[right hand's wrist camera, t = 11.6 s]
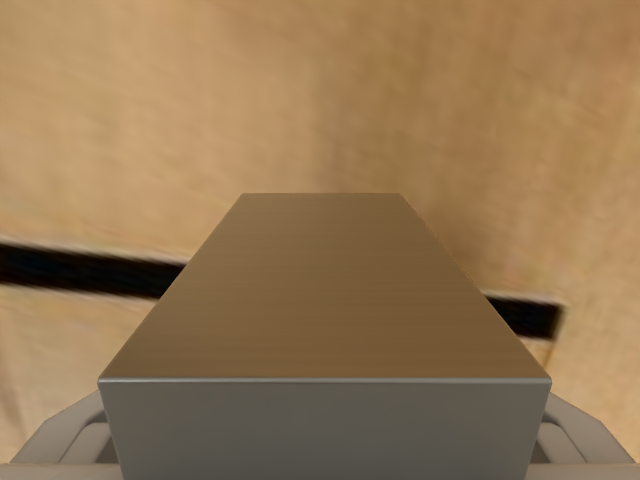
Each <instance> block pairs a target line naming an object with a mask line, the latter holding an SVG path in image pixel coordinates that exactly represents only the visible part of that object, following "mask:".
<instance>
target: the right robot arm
mask: <svg viewBox="0 0 640 480" xmlns="http://www.w3.org/2000/svg"><path fill="white" fill-rule="evenodd" d="M0 480H123V476H122V473H121V469H120V465H119V462H118V458H117V454H116V450H115V447H114V443H113V439H112V436H111V432H110V428H109V425H108V421H107V417H106V413H105V410H104V406H103V402H102V399H101V395H100V391H99V390H97V391H95V392H94V393H92V394H90V395H88V396H87V397H85V398H83V399H82V400H80V401H78V402H76V403H75V404H73V405H71V406H70V407H68V408H66V409H64V410H63V411H61V412H59V413H58V414H56V415H54V416H52V417H51V418H49V419H47V420H46V421H44V423H43V424H42V425H41V426H40V427H39V428H38V430H37V431H36V432H35V433H34V434H33V436H32V437H31V438H30V439H29V440H28V442H27V443H26V444H25V445H24V446H23V447H22V449H21V450H20V451H19V452H18V453H17V455H16V456H15V457H14V458H13V459H12V460H11V462H10V463H0ZM525 480H640V463H636V462H635V461H634V460H633V459H632V457H631V456H630V455H629V454H628V453H627V452H626V450H625V449H624V448H623V447H622V446H621V445H620V443H619V442H618V441H617V440H616V439H615V438H614V436H613V435H612V434H611V433H610V432H609V431H608V429H607V428H606V427H605V426H604V425H603V423H602V422H601V421H599V420H597V419H596V418H594V417H592V416H590V415H589V414H587V413H585V412H584V411H582V410H580V409H578V408H577V407H575V406H573V405H571V404H570V403H568V402H566V401H565V400H563V399H561V398H559V397H558V396H556V395H554V394H552V393H551V392H550V393H549V396H548V400H547V403H546V407H545V410H544V414H543V417H542V421H541V424H540V428H539V431H538V435H537V438H536V442H535V445H534V449H533V452H532V456H531V459H530V463H529V466H528V470H527V473H526V477H525Z"/></svg>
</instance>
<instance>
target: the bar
mask: <svg viewBox="0 0 640 480" xmlns="http://www.w3.org/2000/svg"><path fill="white" fill-rule="evenodd" d="M97 384H98V388H99V391H100V395H101V399H102V402H103V406H104V410H105V413H106V417H107V421H108V425H109V428H110V432H111V436H112V439H113V443H114V447H115V450H116V454H117V458H118V462H119V465H120V469H121V473H122V476H123V480H525V477H526V473H527V470H528V466H529V463H530V459H531V456H532V452H533V449H534V445H535V442H536V438H537V435H538V431H539V428H540V424H541V421H542V417H543V414H544V410H545V407H546V403H547V400H548V396H549V393H550V389H551V386H552V380H551V377H550V376H549V375H548V374H547V372H546V371H545V370H544V369H543V368H542V366H541V365H540V364H539V363H538V361H537V360H536V359H535V358H534V357H533V355H532V354H531V353H530V352H529V350H528V349H527V348H526V347H525V346H524V344H523V343H522V342H521V341H520V339H519V338H518V337H517V336H516V335H515V333H514V332H513V331H512V330H511V328H510V327H509V326H508V325H507V324H506V322H505V321H504V320H503V319H502V317H501V316H500V315H499V314H498V313H497V311H496V310H495V309H494V308H493V306H492V305H491V304H490V303H489V302H488V300H487V299H486V298H485V297H484V295H483V294H482V293H481V292H480V291H479V289H478V288H477V287H476V286H475V284H474V283H473V282H472V281H471V280H470V278H469V277H468V276H467V275H466V273H465V272H464V271H463V270H462V269H461V267H460V266H459V265H458V264H457V262H456V261H455V260H454V259H453V258H452V256H451V255H450V254H449V253H448V251H447V250H446V249H445V248H444V247H443V245H442V244H441V243H440V242H439V240H438V239H437V238H436V237H435V235H434V234H433V233H432V232H431V231H430V229H429V228H428V227H427V226H426V224H425V223H424V222H423V221H422V220H421V218H420V217H419V216H418V215H417V213H416V212H415V211H414V210H413V209H412V207H411V206H410V205H409V204H408V202H407V201H406V200H405V199H404V198H403V196H402V195H401V194H269V193H244V194H242V195H241V196H240V198H239V199H238V200H237V201H236V203H235V204H234V205H233V206H232V208H231V209H230V210H229V212H228V213H227V214H226V215H225V217H224V218H223V219H222V221H221V222H220V223H219V224H218V226H217V227H216V228H215V229H214V231H213V232H212V233H211V235H210V236H209V237H208V238H207V240H206V241H205V242H204V244H203V245H202V246H201V247H200V249H199V250H198V251H197V252H196V254H195V255H194V256H193V258H192V259H191V260H190V261H189V263H188V264H187V265H186V267H185V268H184V269H183V270H182V272H181V273H180V274H179V275H178V277H177V278H176V279H175V281H174V282H173V283H172V284H171V286H170V287H169V288H168V290H167V291H166V292H165V293H164V295H163V296H162V297H161V298H160V300H159V301H158V302H157V304H156V305H155V306H154V307H153V309H152V310H151V311H150V313H149V314H148V315H147V316H146V318H145V319H144V320H143V322H142V323H141V324H140V325H139V327H138V328H137V329H136V330H135V332H134V333H133V334H132V336H131V337H130V338H129V339H128V341H127V342H126V343H125V345H124V346H123V347H122V348H121V350H120V351H119V352H118V353H117V355H116V356H115V357H114V359H113V360H112V361H111V362H110V364H109V365H108V366H107V368H106V369H105V370H104V371H103V373H102V374H101V375H100V376H99V378H98V383H97Z"/></svg>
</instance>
